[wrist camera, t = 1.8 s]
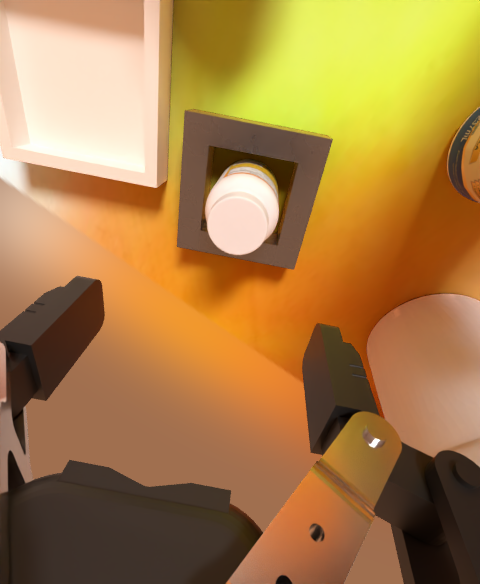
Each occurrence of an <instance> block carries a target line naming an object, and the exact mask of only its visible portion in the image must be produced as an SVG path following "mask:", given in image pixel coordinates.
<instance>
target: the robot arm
mask: <svg viewBox="0 0 480 584" xmlns="http://www.w3.org/2000/svg"><path fill="white" fill-rule="evenodd" d="M103 321H104V302H103V292H102V283H101V281H100V280H96V279H91V278H86V277H80V276H76V277H75V278H74V279H73V280H71V281H70V282H69V283H68V284H67V285H66V286H65V287H57V288H55V289H53V290H51V291H48V292H46V293H44V294H43V295H42V296H41V297H40V298H38V299H37V300H36V301H35V302H34V304H31V305H30V306H29V307H28V308H27V309H26V310H25V312H24V311H23V312H22V313H21V314H20V315H18V316H17V317H16V318H15V319H14V320H13V321H11V322H10V323H9V324H8V325H7V326H5V327H4V328H3V329H2V330H1V331H0V584H344V582H345V580H346V578H347V576H348V573H349V571H350V569H351V567H352V565H353V563H354V561H355V558H356V556H357V554H358V552H359V550H360V548H361V546H362V544H363V541H364V539H365V537H366V535H367V533H368V531H369V529H370V526H371V524H372V522H373V520H374V517H375V515H376V516H378V517H380V518H381V519H383V520H385V521H387V522H389V523H390V524H391V527H392V532H393V537H394V541H395V545H396V550H397V554H398V559H399V563H400V568H401V573H402V577H403V582H404V584H480V467H479V466H478V465H477V464H476V463H474V462H473V461H472V460H470V459H469V458H468V457H466V456H464V455H462V454H460V453H458V452H455V451H451V450H443V451H440V452H439V453H438V454H437V455H436V456H435V457H434V458H433V457H431V456H429V455H427V454H425V453H423V452H421V451H419V450H417V449H415V448H413V447H411V446H408V445H407V444H405V443H403V442H402V441H401V440H400V437H399V435H398V433H397V432H396V430H395V429H394V428H393V426H392V425H391V424H390V423H389V422H388V421H386V420H385V419H384V418H382V417H380V415H379V412H378V409H377V406H376V403H375V400H374V397H373V394H372V391H371V388H370V385H369V382H368V379H366V377H367V376H366V373H365V370H364V369H363V364H362V361H361V358H360V355H359V353H358V352H357V351H356V350H355V348H354V347H353V346H352V345H351V344H350V343H345V342H343V340H342V336H341V333H340V329H339V328H338V327H335V326H330V325H324V324H319V323H318V324H316V326H315V328H314V331H313V333H312V336H311V339H310V341H309V344H308V346H307V349H306V351H305V354H304V358H303V366H302V370H303V380H304V390H305V400H306V410H307V419H308V429H309V440H310V449H311V453H316V454H321V455H322V458H321V459H320V460H319V462H318V461H317V462H316V463H315V464H314V466H313V467H312V468H311V470H310V471H309V472H308V474H307V475H306V477H305V478H304V479H303V480H302V482H301V483H300V484H299V486H298V487H297V489H296V490H295V491H294V492H293V494H292V495H291V497H290V498H289V499H288V501H287V502H286V503H285V505H284V506H283V507H282V509H281V510H280V511H279V513H278V514H277V515H276V517H275V518H274V519H273V521H272V522H271V523H270V525H269V526H268V527H267V529H266V530H265V532H264V533H263V532H262V531H261V529H260V528H259V527H258V526H257V525H256V523H255V522H254V521H253V520H252V519H251V518H250V517H249V516H247V514H246V513H244V512H243V511H241V510H240V509H239V508H237V507H236V506H234V505H232V504H230V494H231V491H230V490H225V489H219V488H214V487H209V486H203V485H199V484H193V483H188V484H177V485H166V486H156V487H146V486H143V485H141V484H139V483H137V482H136V481H134V480H132V479H130V478H128V477H126V476H124V475H122V474H120V473H118V472H117V471H115V470H113V469H111V468H109V467H104V466H98V465H93V464H88V463H82V462H77V461H72V460H69V462H68V463H67V465H66V467H65V469H64V470H63V472H62V473H57V474H53V475H48V476H44V477H41V478H38V479H35V480H33V476H32V472H31V467H30V457H29V443H28V429H27V416H26V408H25V405H26V404H27V403H28V402H29V401H30V399H31V398H34V399H40V400H45V401H46V400H47V399H48V398H49V396H50V395H51V394H52V392H53V391H54V390H55V388H56V387H57V386H58V385H59V383H60V382H61V381H62V379H63V378H64V377H65V375H66V374H67V373H68V371H69V370H70V369H71V367H72V366H73V365H74V363H75V362H76V361H77V360H78V358H79V357H80V356H81V354H82V353H83V352H84V350H85V349H86V348H87V346H88V345H89V343H90V342H91V341H92V340H93V338H94V337H95V336H96V334H97V333H98V332H99V330H100V328H101V327H102V324H103Z"/></svg>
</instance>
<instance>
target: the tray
mask: <svg viewBox="0 0 480 584" xmlns="http://www.w3.org/2000/svg"><path fill="white" fill-rule="evenodd" d="M173 3H174V0H0V146H1V150H2V154H3V158H6V159H11V160H16V161H21V162H27V163H32V164H37V165H42V166H47V167H52V168H57V169H62V170H67V171H73V172H78V173H83V174H88V175H93V176H98V177H103V178H108V179H113V180H118V181H124V182H129V183H134V184H139V185H144V186H149V187H154V188H157V187H159V186H160V185H161V184H163V183H164V182H165V181H167V176H168V147H169V118H170V89H171V60H172V32H173Z"/></svg>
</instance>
